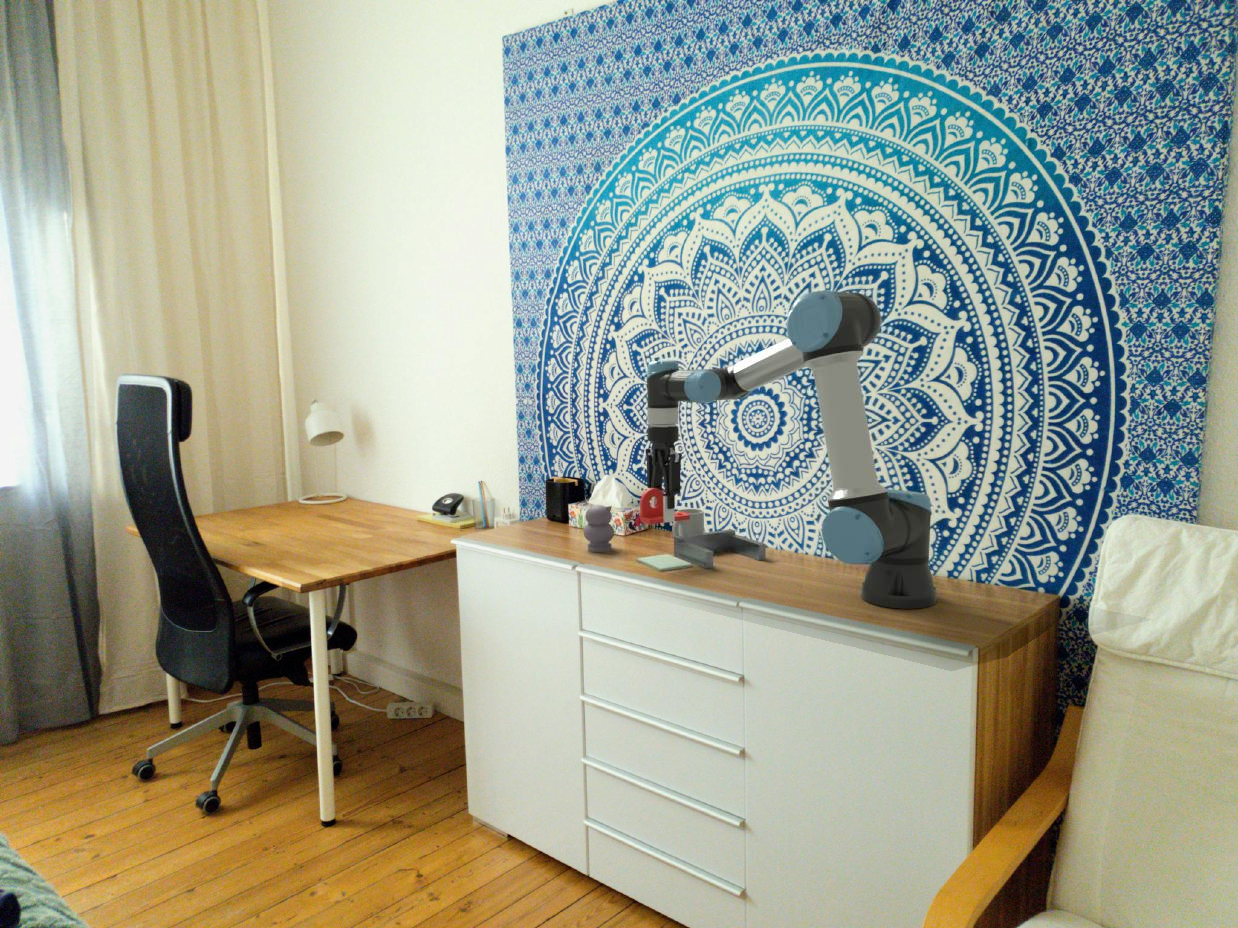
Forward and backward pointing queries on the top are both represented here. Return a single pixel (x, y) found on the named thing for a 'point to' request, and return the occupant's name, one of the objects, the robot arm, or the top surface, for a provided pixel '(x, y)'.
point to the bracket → (656, 508)
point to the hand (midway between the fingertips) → (663, 519)
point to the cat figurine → (598, 528)
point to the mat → (664, 562)
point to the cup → (689, 523)
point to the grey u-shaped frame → (715, 547)
